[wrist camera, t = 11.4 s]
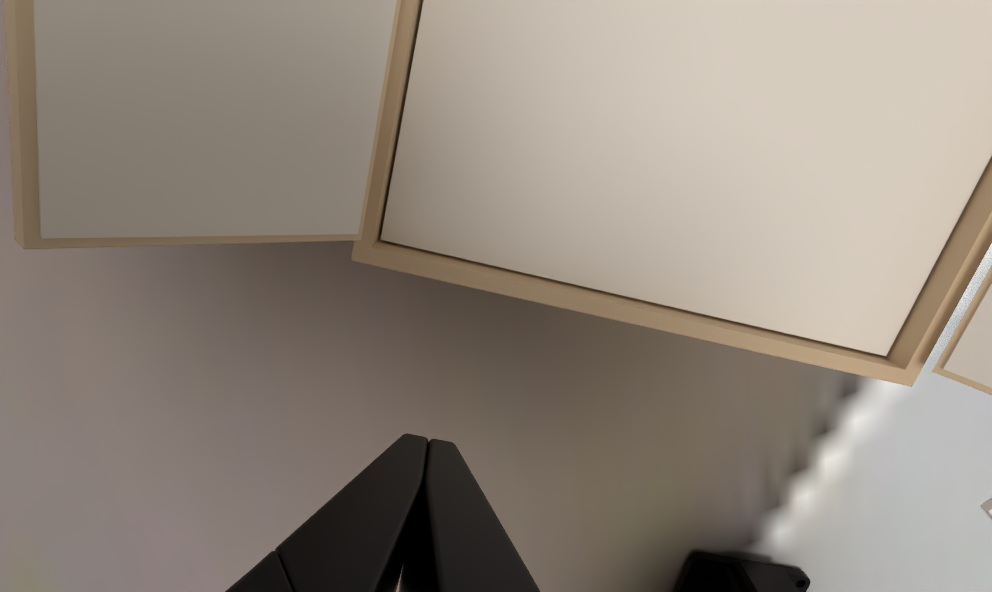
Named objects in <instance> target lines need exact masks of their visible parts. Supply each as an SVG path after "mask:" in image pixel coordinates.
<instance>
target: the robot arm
mask: <svg viewBox="0 0 992 592" xmlns="http://www.w3.org/2000/svg"><path fill="white" fill-rule="evenodd" d="M698 563H699V564H698ZM402 566H403V567H402ZM401 570H402V573H401ZM400 574H401V579H400ZM399 579H400V588H399V592H540V590H539V588H538V587H537V585H536V583H535V582H534V580H533V578H532V576H531V575H530V573H529V571H528V569H527V568H526V566H525V564H524V563H523V561H522V559H521V557H520V556H519V554H518V552H517V550H516V549H515V547H514V545H513V544H512V542H511V540H510V538H509V537H508V535H507V533H506V532H505V530H504V528H503V526H502V525H501V523H500V521H499V519H498V518H497V516H496V514H495V513H494V511H493V509H492V507H491V506H490V504H489V502H488V500H487V499H486V497H485V495H484V494H483V492H482V490H481V488H480V487H479V485H478V483H477V481H476V480H475V478H474V476H473V475H472V473H471V471H470V469H469V468H468V466H467V464H466V463H465V461H464V459H463V457H462V456H461V454H460V452H459V450H458V449H457V447H456V445H455V444H454V443H452V442H448V441H443V440H438V439H431V440H430V441H429V443H428V439H427V438H426V437H422V436H417V435H412V434H404V435H402V436H401V437H400V438H399V439H398V440H397V441H396V442H394V443H393V444H392V445H391V446H390V447H389V448H388V449H387V450H385V451H384V452H383V453H382V454H381V455H380V456H379V457H378V458H376V459H375V460H374V461H373V462H372V463H371V464H370V465H369V466H367V467H366V468H365V469H364V470H363V471H362V472H361V473H360V474H358V475H357V476H356V477H355V478H354V479H353V480H352V481H351V482H349V483H348V484H347V485H346V486H345V487H344V488H343V489H342V490H340V491H339V492H338V493H337V494H336V495H335V496H334V497H333V498H332V499H330V500H329V501H328V502H327V503H326V504H325V505H324V506H323V507H321V508H320V509H319V510H318V511H317V512H316V513H315V514H314V515H312V516H311V517H310V518H309V519H308V520H307V521H306V522H305V523H303V524H302V525H301V526H300V527H299V528H298V529H297V530H296V531H294V532H293V533H292V534H291V535H290V536H289V537H288V538H287V539H285V540H284V541H283V542H282V543H281V544H280V545H279V546H278V547H277V548H276V549H275V551H272V552H270V553H269V554H268V555H267V556H266V557H265V558H264V559H263V560H261V561H260V562H259V563H258V564H257V565H256V566H255V567H254V568H253V569H251V570H250V571H249V572H248V573H247V574H246V575H244V576H243V577H242V578H241V579H240V580H238V581H237V582H236V583H235V584H234V585H232V586H231V587H230V588H229V589H228V590H226V591H225V592H396V589H397V586H398V582H399ZM809 585H810V579H809V578H808V577H807V575H806V574H805V573H804V572H803V571H802V570H798V569H792V568H786V567H781V566H775V565H770V564H764V563H758V562H753V561H747V560H741V559H736V558H730V557H724V556H719V555H713V554H708V553H702V552H697V553H693V554H692V555H690V557H689V558H688V560H687V562H686V565H685V567H684V569H683V571H682V573H681V576H680V578H679V580H678V582H677V584H676V586H675V589H674V591H673V592H806V591H807V589H808V587H809Z"/></svg>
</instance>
